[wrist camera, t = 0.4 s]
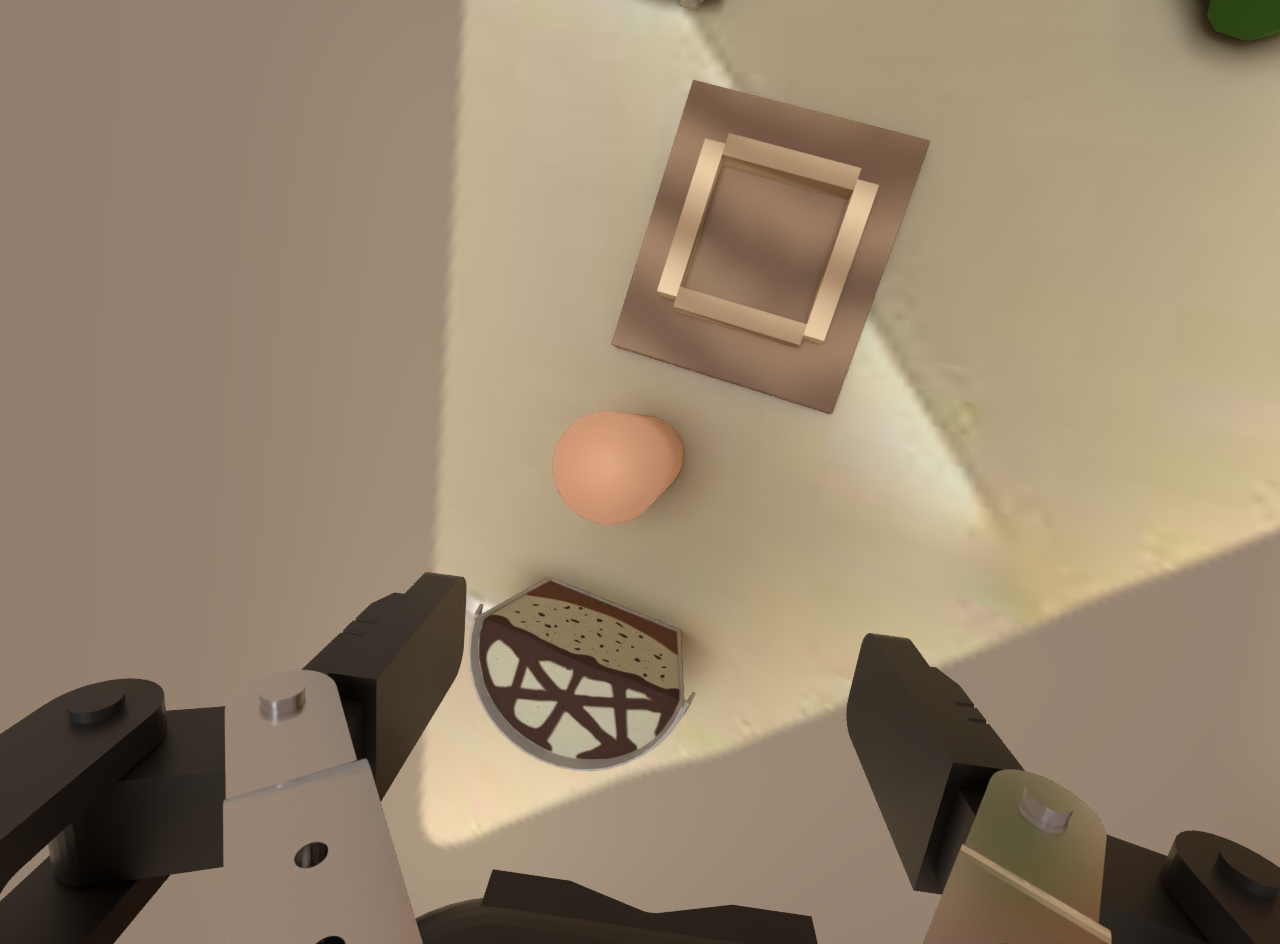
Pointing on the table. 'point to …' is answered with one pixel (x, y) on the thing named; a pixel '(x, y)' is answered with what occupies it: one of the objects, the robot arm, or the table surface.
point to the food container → (577, 676)
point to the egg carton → (691, 4)
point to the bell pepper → (1245, 18)
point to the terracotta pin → (615, 465)
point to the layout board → (767, 244)
